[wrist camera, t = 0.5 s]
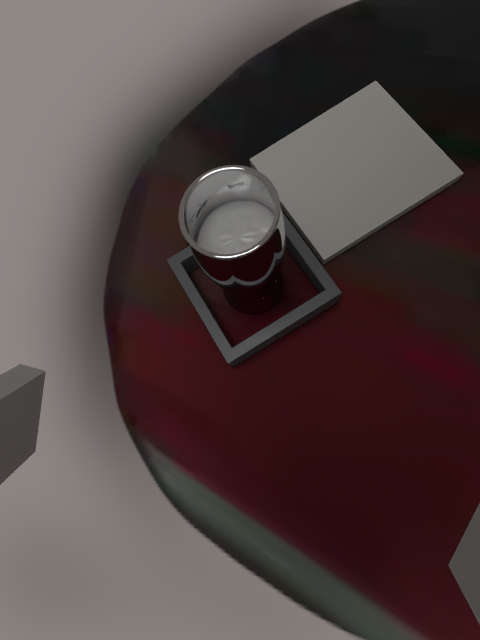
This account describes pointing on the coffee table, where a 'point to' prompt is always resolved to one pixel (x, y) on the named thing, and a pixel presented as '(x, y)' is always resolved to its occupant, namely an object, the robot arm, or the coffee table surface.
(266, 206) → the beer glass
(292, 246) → the holder
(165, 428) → the coffee table surface
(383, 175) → the board
